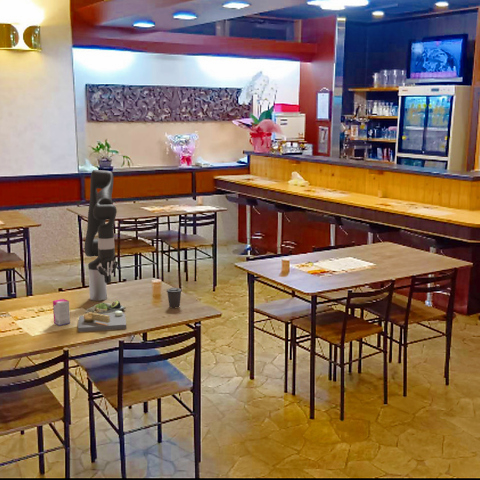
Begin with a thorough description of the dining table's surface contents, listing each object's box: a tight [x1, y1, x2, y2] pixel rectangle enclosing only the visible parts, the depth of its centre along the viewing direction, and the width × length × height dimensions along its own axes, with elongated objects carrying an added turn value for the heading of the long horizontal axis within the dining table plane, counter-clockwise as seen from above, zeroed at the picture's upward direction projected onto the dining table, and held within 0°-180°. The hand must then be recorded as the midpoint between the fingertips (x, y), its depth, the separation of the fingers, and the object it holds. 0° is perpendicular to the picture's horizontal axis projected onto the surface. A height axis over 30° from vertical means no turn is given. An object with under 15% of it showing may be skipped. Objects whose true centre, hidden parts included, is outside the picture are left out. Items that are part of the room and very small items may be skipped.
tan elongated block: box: [83, 311, 110, 323], centre depth 291 cm, size 5×14×4 cm, turn 61°
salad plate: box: [86, 300, 127, 314], centre depth 314 cm, size 19×18×5 cm
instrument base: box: [77, 310, 127, 333], centre depth 295 cm, size 18×22×4 cm
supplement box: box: [52, 298, 71, 327], centre depth 295 cm, size 6×6×12 cm
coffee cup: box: [166, 287, 183, 309], centre depth 321 cm, size 8×8×10 cm
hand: (107, 282), depth 290 cm, fingers closed
